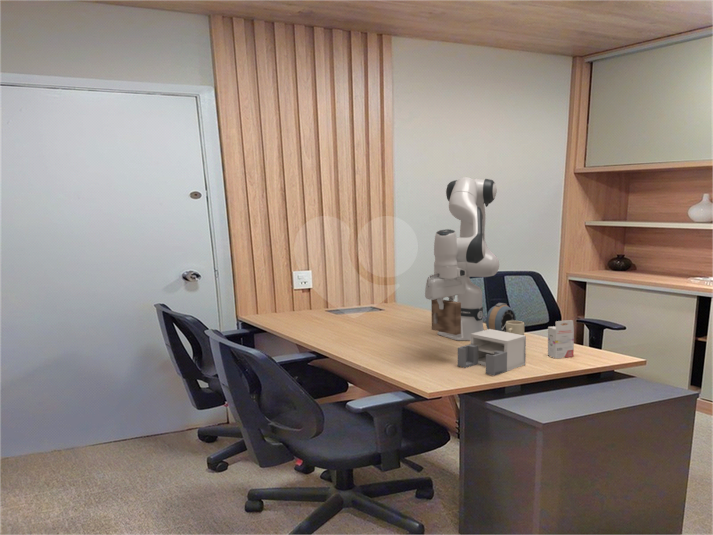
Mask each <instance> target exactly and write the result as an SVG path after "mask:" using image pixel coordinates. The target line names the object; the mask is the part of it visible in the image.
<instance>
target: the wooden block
mask: <svg viewBox="0 0 713 535" xmlns="http://www.w3.org/2000/svg"><path fill="white" fill-rule="evenodd" d="M430 301H431V330H432V331H435V332H436V331H437V332H438V331H440V332H444V333H449V334H453V335H458V334H461V302H457V301H455V300H454V301H449V299H448V300H447V299H443V304H445V309H439V304H438V302H437V299H435V300H430Z"/></svg>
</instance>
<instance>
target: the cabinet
mask: <svg viewBox="0 0 713 535" xmlns="http://www.w3.org/2000/svg"><path fill="white" fill-rule="evenodd" d="M526 340H527V335H525V334H524V335H519V334H514V333H509V332H503V331H498V330H493V329H487V328H486V329H484V330H483V331H480V332H476V333H472V334H471V340H470V343H469V344H466V345H463V346H462V345H461V346H459V347H457V367H459V366H461V367H460V368H463V367H464V369H467V368H470V367H473V366H476V365H480V364H481V366H485V374H486V375H490V376H493V377H495V376H498V375H500V374H503V373H506V372H509V371H511V370H514V368H515V369H517V367H518V368H519V367H523V366H525V365H526V356H527V354H526V352H527V348H526V347H527V343H526V342H527V341H526ZM522 365H523V366H522ZM469 366H470V367H469ZM466 367H467V368H466Z"/></svg>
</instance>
